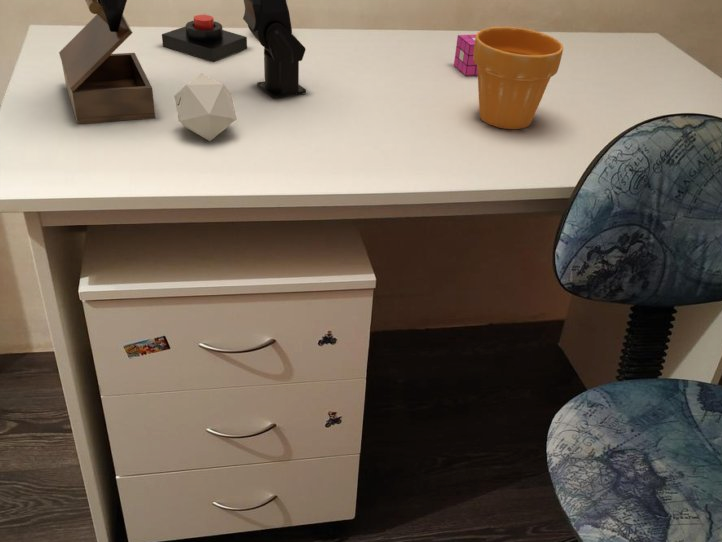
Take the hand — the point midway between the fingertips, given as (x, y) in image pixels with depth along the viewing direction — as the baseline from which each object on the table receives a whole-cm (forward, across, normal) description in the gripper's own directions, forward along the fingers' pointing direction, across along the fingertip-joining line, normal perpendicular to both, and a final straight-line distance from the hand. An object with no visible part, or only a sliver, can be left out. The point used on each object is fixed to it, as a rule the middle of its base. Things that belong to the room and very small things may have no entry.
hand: (109, 21), depth 122 cm
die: (+12, +15, +10) cm, 22 cm away
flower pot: (+13, +20, +61) cm, 65 cm away
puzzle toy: (+13, -3, +66) cm, 67 cm away
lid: (+3, 0, -3) cm, 4 cm away
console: (+12, -23, +19) cm, 32 cm away
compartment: (+12, 0, -2) cm, 12 cm away
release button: (+9, -23, +19) cm, 31 cm away
